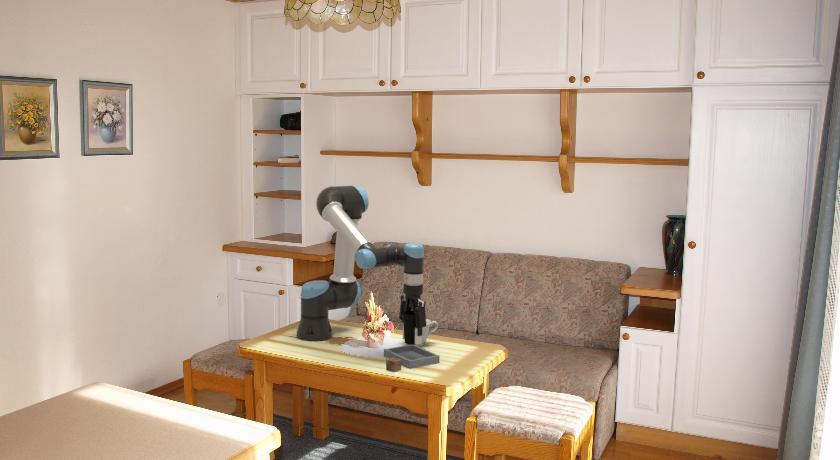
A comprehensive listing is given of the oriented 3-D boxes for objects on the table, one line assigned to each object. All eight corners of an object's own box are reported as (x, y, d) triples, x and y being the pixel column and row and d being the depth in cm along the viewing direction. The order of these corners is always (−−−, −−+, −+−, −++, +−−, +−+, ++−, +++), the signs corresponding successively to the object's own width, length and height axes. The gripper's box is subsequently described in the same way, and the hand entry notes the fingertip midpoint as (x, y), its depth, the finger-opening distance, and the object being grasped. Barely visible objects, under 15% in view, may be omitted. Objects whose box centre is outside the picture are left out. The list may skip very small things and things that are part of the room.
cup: (419, 346, 295) (420, 315, 294) (400, 344, 297) (400, 314, 295) (423, 340, 303) (424, 311, 301) (404, 339, 304) (405, 309, 302)
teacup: (440, 347, 317) (441, 324, 316) (405, 349, 314) (406, 325, 312) (433, 339, 329) (434, 316, 328) (399, 341, 325) (400, 318, 324)
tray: (383, 356, 304) (383, 349, 303) (412, 350, 312) (412, 344, 312) (409, 368, 289) (409, 361, 289) (439, 362, 298) (439, 355, 297)
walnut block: (386, 370, 287) (386, 359, 286) (392, 367, 290) (392, 357, 290) (394, 372, 285) (394, 362, 284) (401, 369, 288) (401, 359, 287)
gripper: (390, 280, 303) (389, 336, 306) (420, 289, 286) (419, 349, 289) (406, 278, 307) (404, 333, 310) (437, 287, 290) (435, 346, 294)
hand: (411, 341), depth 300 cm, fingers closed on cup, 8 cm apart
